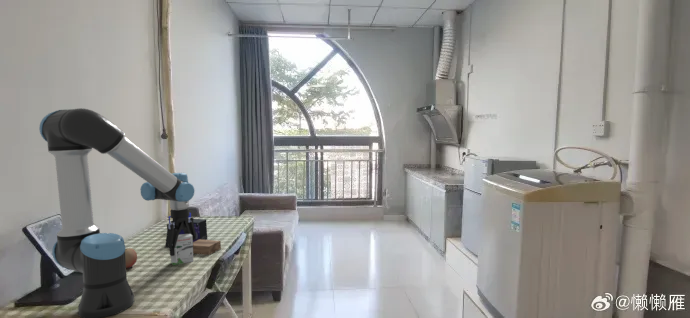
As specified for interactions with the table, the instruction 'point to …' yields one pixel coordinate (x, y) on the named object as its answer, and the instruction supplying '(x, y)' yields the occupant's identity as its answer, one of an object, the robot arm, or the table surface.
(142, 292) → the table surface
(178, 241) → the ink box
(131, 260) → the fruit
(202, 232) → the box
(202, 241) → the walnut block
